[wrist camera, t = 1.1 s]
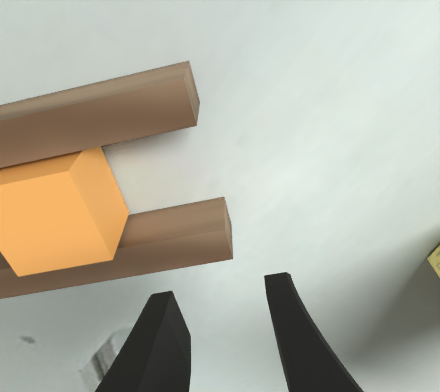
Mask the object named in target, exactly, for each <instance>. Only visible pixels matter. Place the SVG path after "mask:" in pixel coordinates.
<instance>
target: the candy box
mask: <svg viewBox="0 0 440 392" xmlns="http://www.w3.org/2000/svg"><path fill="white" fill-rule="evenodd" d="M427 260H428V261H429V263H430V264H431V266H432V267H433V269H434V270H435V272H436V273H437V275H438V276H439V278H440V245H439V246H438V247H437V248H436V249H435V250H434V252H433V253H432V254H431V255H430V256H429V257H428V259H427Z"/></svg>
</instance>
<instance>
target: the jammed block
mask: <svg viewBox="0 0 440 392" xmlns="http://www.w3.org/2000/svg"><path fill="white" fill-rule="evenodd" d="M128 215H129V211H128V208H127V206H126V204H125V201H124V199H123V197H122V194H121V192H120V190H119V187H118V185H117V183H116V180H115V178H114V176H113V173H112V171H111V169H110V166H109V164H108V162H107V159H106V157H105V155H104V153H103V150H102V148H101V146H100V147H95V148H91V149H86V150H81V151H77V152H72V153H67V154H63V155H58V156H53V157H49V158H44V159H39V160H35V161H30V162H25V163H21V164H16V165H11V166H7V167H2V168H0V252H1V253H2V255H3V256H4V257H5V259H6V260H7V262H8V263H9V264H10V266H11V267H12V269H13V270H14V272H15V273H16V274H17V276H18V277H19V276H25V275H30V274H36V273H42V272H47V271H53V270H59V269H64V268H70V267H76V266H81V265H87V264H92V263H98V262H104V261H109V260H113V258H114V255H115V252H116V249H117V246H118V243H119V241H120V238H121V235H122V232H123V229H124V226H125V223H126V221H127V218H128Z"/></svg>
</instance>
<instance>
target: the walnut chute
mask: <svg viewBox="0 0 440 392" xmlns="http://www.w3.org/2000/svg"><path fill="white" fill-rule="evenodd" d="M199 104H200V102H199V98H198V94H197V90H196V86H195V82H194V78H193V75H192V71H191V67H190V63H189V61H186V62H182V63H178V64H174V65H169V66H165V67H161V68H157V69H152V70H148V71H144V72H140V73H135V74H131V75H127V76H123V77H118V78H114V79H110V80H106V81H101V82H97V83H93V84H89V85H84V86H80V87H76V88H72V89H67V90H63V91H59V92H55V93H50V94H46V95H42V96H38V97H34V98H29V99H25V100H21V101H17V102H12V103H8V104H4V105H0V168H2V167H7V166H11V165H16V164H21V163H25V162H30V161H35V160H39V159H44V158H49V157H53V156H58V155H63V154H67V153H72V152H77V151H81V150H86V149H91V148H95V147H100V146H104V145H109V144H114V143H118V142H123V141H128V140H132V139H137V138H142V137H146V136H151V135H156V134H160V133H165V132H170V131H174V130H179V129H184V128H188V127H193V126H197V120H198V112H199ZM230 259H233V248H232V227H231V221H230V217H229V214H228V210H227V206H226V202H225V198H224V197H222V198H216V199H211V200H206V201H201V202H195V203H190V204H185V205H180V206H174V207H169V208H164V209H159V210H154V211H148V212H143V213H138V214H133V215H128V218H127V221H126V223H125V226H124V229H123V232H122V235H121V238H120V241H119V243H118V246H117V249H116V252H115V255H114V258H113V260H109V261H104V262H98V263H92V264H87V265H81V266H76V267H70V268H64V269H59V270H53V271H47V272H42V273H36V274H30V275H25V276H19V277H18V276H17V274H16V273H15V272H14V270H13V269H12V267H11V266H10V264H9V263H8V262H7V260H6V259H5V257H4V256H3V255H2V253H1V252H0V299H2V298H8V297H14V296H20V295H26V294H32V293H37V292H43V291H49V290H55V289H61V288H67V287H72V286H78V285H84V284H90V283H96V282H102V281H108V280H113V279H119V278H125V277H131V276H137V275H143V274H148V273H154V272H160V271H166V270H172V269H178V268H184V267H189V266H195V265H201V264H207V263H213V262H219V261H224V260H230Z"/></svg>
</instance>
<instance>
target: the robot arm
mask: <svg viewBox="0 0 440 392" xmlns="http://www.w3.org/2000/svg"><path fill="white" fill-rule="evenodd" d="M264 278H265V287H266V295H267V300H268V305H269V309H270V314H271V318H272V323H273V327H274V331H275V336H276V340H277V345H278V349H279V354H280V358H281V362H282V366H283V370H284V374H285V378H286V382H287V386H288V390H289V392H364V391H363V390H362V389H361V388H360V387H359V385H358V384H357V383H356V381H355V380H354V379H353V378H352V376H351V375H350V374H349V372H348V371H347V370H346V368H345V367H344V366H343V364H342V363H341V362H340V360H339V359H338V357H337V356H336V355H335V353H334V352H333V351H332V349H331V348H330V346H329V345H328V343H327V342H326V340H325V339H324V337H323V336H322V334H321V333H320V331H319V329H318V328H317V326H316V325H315V323H314V322H313V320H312V318H311V317H310V315H309V313H308V312H307V310H306V308H305V306H304V304H303V302H302V301H301V299H300V297H299V295H298V293H297V290H296V288H295V286H294V284H293V281H292V278H291V275H290V274H288V273H287V272H284V273H278V274H272V275H265V276H264ZM190 376H191V335H190V333H189V331H188V328H187V326H186V323H185V321H184V318H183V316H182V314H181V311H180V309H179V306H178V304H177V301H176V299H175V297H174V294H173V292H172V291H168V292H162V293H156V294H152V295H151V296H150V298H149V299H148V301H147V303H146V305H145V307H144V309H143V311H142V313H141V314H140V316H139V318H138V320H137V322H136V324H135V325H134V327H133V329H132V331H131V333H130V335H129V336H128V338H127V340H126V342H125V343H124V345H123V347H122V348H121V350H120V352H119V354H118V355H117V357H116V359H115V360H114V362H113V364H112V365H111V367H110V369H109V370H108V372H107V373H106V375H105V377H104V378H103V380H102V381H101V383H100V384H99V386H98V387H97V389H96V391H95V392H189V386H190Z"/></svg>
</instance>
